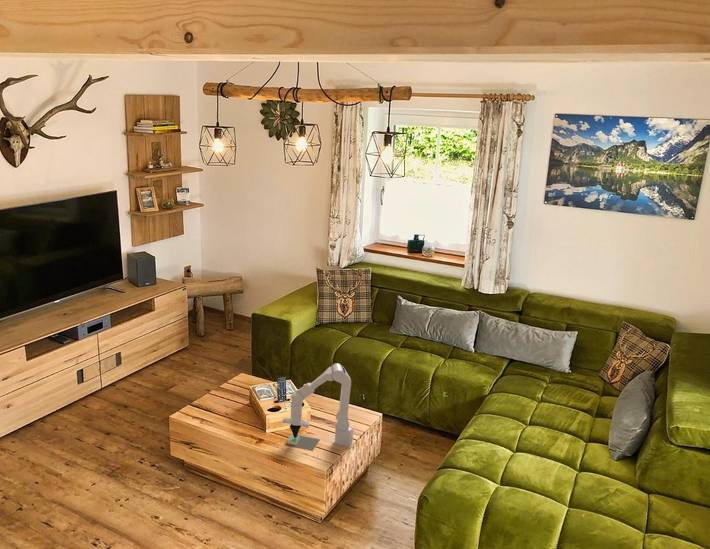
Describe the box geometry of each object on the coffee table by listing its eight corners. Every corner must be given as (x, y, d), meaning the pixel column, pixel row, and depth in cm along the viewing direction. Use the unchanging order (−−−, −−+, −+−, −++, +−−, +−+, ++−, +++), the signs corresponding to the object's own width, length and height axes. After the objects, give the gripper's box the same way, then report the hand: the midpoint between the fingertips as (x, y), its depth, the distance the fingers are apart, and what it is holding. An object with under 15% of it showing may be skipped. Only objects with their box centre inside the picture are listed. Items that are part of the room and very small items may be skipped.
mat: (320, 440, 334) (320, 439, 334) (312, 451, 323) (312, 450, 323) (292, 434, 338) (292, 433, 338) (283, 445, 327) (283, 444, 327)
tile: (300, 436, 332) (291, 434, 333) (295, 441, 327) (287, 440, 328) (299, 439, 333) (291, 437, 334) (295, 445, 327) (286, 443, 328)
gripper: (311, 412, 328) (311, 435, 331) (286, 407, 331) (285, 430, 335) (307, 419, 321) (306, 442, 325) (281, 413, 325) (280, 436, 329)
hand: (295, 436), depth 330 cm, fingers closed
